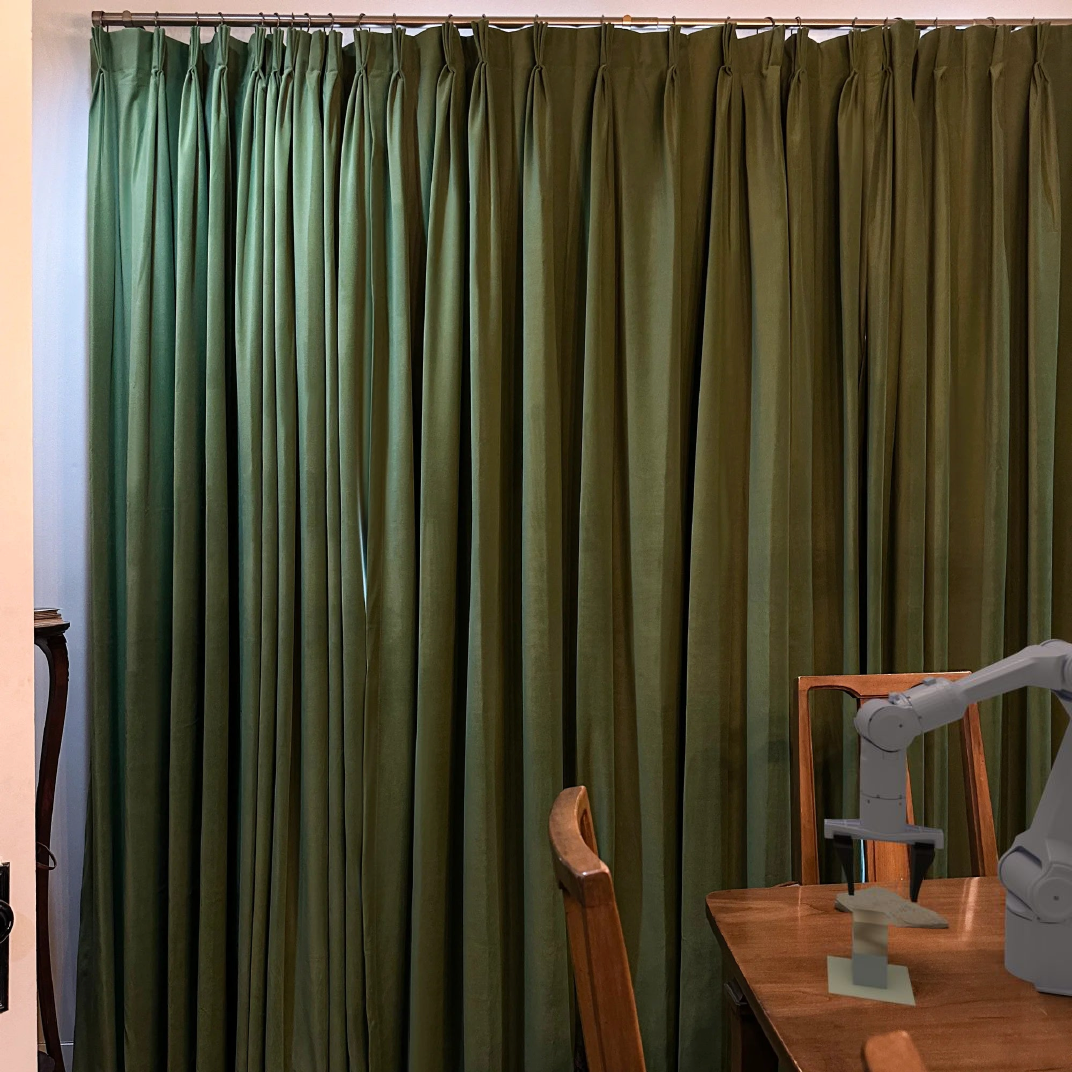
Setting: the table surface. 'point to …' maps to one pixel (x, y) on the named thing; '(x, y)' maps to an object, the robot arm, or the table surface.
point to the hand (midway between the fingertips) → (881, 896)
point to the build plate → (843, 985)
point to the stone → (890, 908)
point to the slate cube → (869, 970)
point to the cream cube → (870, 932)
